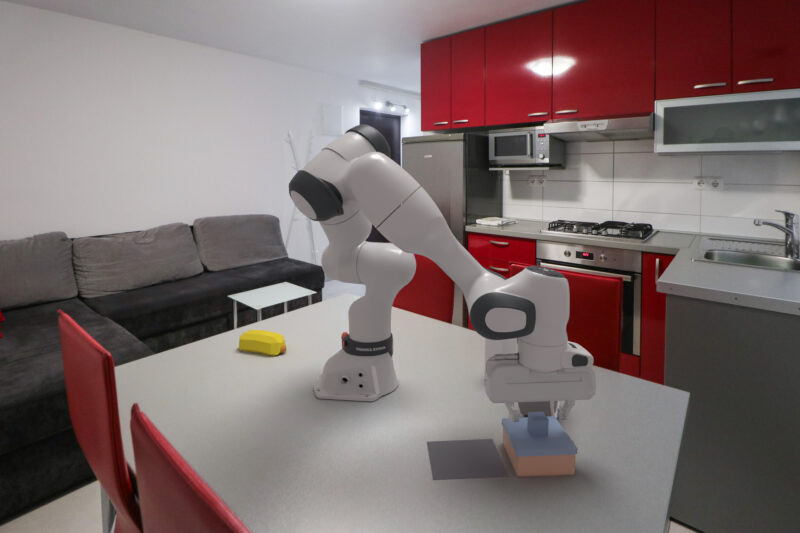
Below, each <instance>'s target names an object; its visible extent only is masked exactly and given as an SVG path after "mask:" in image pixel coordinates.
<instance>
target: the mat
mask: <svg viewBox="0 0 800 533" xmlns="http://www.w3.org/2000/svg"><path fill="white" fill-rule="evenodd" d="M426 446H427V452H428V456H429V463H430V464H429V465H430V470H431V475H432V480H433V481H442V480H443V481H444V480H462V479H463V480H467V479H486V478H487V479H488V478H508V477H509V474H508V472H507V470H506V467H505V465H504V462H503V461H502V460H503V459H502V458H501V455H500V453H499V451H498V448H497V446H496V444H495V442H494V439H493V438H482V439H480V438H479V439H478V438H477V439H476V438H475V439H456V440H434V441H432V440H431V441H426Z"/></svg>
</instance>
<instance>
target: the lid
mask: <svg viewBox="0 0 800 533" xmlns="http://www.w3.org/2000/svg"><path fill="white" fill-rule="evenodd" d="M501 425H502V428H503V427H504V430H505V432H506V434H507V436H508V438H509V440H510V442H511V444H512V446H513V448H514V450H515V452H516V454H517V456H518V457H525V456H547V455H570V454H576V455H577V454H578V447H577V445H576V444H575V443H574V441H573V440H572V439H571V437H570V436H569V434H568V433H567V432H566V430H565V429H564V428H563V426H562V425H561V423H560V422H559V419H558V418H555V416H548V417H546V415H545V414H544V412H528V415H527V416H526V417H519V422H511V421H510V419H509V417H507V418H506V417H503V418H501Z"/></svg>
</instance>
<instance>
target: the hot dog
mask: <svg viewBox="0 0 800 533" xmlns="http://www.w3.org/2000/svg"><path fill="white" fill-rule="evenodd" d="M238 340H239V342H238V350H240V351H242V352H243V351H245V353H257V354H262V355H266V356H270V355H271V357H276V356H278V355H279V354H283V353H286V351H287V345H286V340H285V337H284V335H283V334H281V333H278V332H275V331H274V332H273V331H269V330H265V329H249V330H247V331H246V332H242V334H241V335H240V336H239V339H238Z"/></svg>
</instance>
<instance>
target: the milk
mask: <svg viewBox="0 0 800 533" xmlns="http://www.w3.org/2000/svg"><path fill="white" fill-rule="evenodd" d="M484 339H485V340H484V342H485V344H484V380H486V381H487V373H486V362H487V360H488V359H489V358H490V357H493V356H494V355H495V354H509V353H517V344H518V338H513V339H505V340H490V339H487V338H484ZM493 359H494V358H493Z"/></svg>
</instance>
